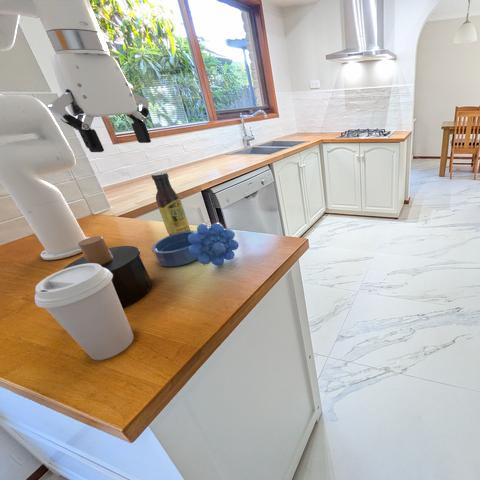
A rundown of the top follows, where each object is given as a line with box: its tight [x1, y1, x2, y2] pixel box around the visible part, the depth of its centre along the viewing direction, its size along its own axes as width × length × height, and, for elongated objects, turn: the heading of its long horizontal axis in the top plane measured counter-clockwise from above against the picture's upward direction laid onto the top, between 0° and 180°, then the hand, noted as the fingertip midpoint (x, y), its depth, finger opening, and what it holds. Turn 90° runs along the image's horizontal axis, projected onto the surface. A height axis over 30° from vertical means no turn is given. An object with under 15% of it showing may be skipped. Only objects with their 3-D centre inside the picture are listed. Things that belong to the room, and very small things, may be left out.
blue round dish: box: [151, 230, 199, 268], centre depth 79 cm, size 13×13×4 cm
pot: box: [111, 255, 153, 309], centre depth 64 cm, size 13×13×8 cm
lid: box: [63, 235, 141, 273], centre depth 60 cm, size 14×14×6 cm
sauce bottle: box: [150, 171, 191, 236], centre depth 88 cm, size 6×6×20 cm
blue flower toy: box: [188, 222, 240, 267], centre depth 71 cm, size 12×7×12 cm, turn 135°
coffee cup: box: [34, 263, 135, 361], centre depth 48 cm, size 10×10×15 cm
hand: (122, 146), depth 59 cm, fingers open, 9 cm apart
